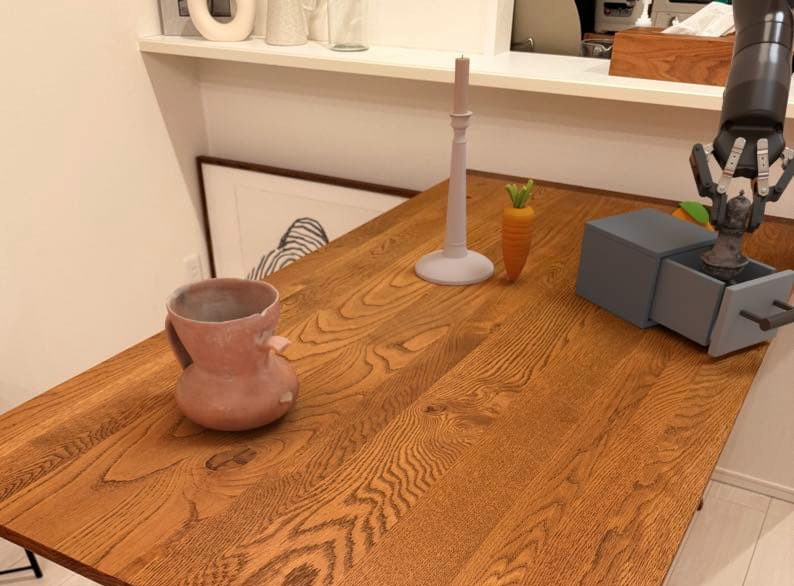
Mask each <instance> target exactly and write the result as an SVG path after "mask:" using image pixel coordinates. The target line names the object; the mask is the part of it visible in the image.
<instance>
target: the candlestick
mask: <svg viewBox="0 0 794 586" xmlns="http://www.w3.org/2000/svg"><path fill="white" fill-rule="evenodd" d="M454 59H455V61H454V84H453V85H454V86H453V89H454V90H453V110H450V111H448V112H447V114H448V115H449V117H450V119H451V122H450V127H451V128H452V129H453V139H452V140H451V143H452V144H451V157H450V167H449V168H450V169H449V170H450V171H449V180H448V181H449V182H448V193H447V194H448V195H447V205H446V206H447V207H446V219H445V220H446V221H445V230H444V240H443V242H444V243H443V249H439V250H434V251H432V252H428V253H427V254H425V255H423V256H422V257H421V258H420V259H418V260H417V261H416V262H415V265H414V272H415V275H416V276H417V277H418V278H420V279H422V280H424V281H426V282H428V283H432V284H435V285H441V286H467V285H473V284H478V283H481V282H484V281H486V280H488V279H490V278H491V277H492V276H493V275H494V272H495V271H494V270H495V266H494V264H493V262H492V261H491V260H490V259H489V258H488V257H487V256H485V255H484V254H481V253H480V252H477V251H475V250H471V249H468V247H467V139H466V133H467V128H468V127H469V126H470V121H469V119H470V117H471V116H472V115H473V114H474V112H473V111H470V110H469V109H468V106H469V84H470V62H471V61H470V60H471V58H470V57H464V54H462V55H461V57H456V58H454Z"/></svg>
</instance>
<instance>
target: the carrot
mask: <svg viewBox="0 0 794 586" xmlns="http://www.w3.org/2000/svg"><path fill="white" fill-rule="evenodd" d="M534 184H535V183H534V180H533V179H528V182H527V183H526V185H522V187H521V189H520V190H519V191H518V188H517V185H516V183H513V184H512V185H511V184H510V183H507V184H506V185H505V188H504V189H506V192H507V193H508V195H509V197H510V200H511V202H512V204H511V205H508V206H506V207H505V208H504V209H503V211H502V216H501V252H502V259H503V264H504V268H505V271H506V273H507V277H508V279H509V280H510V281H511V282H512V283H514V282H515V281H516V280H518V278H519V276H520V275H521V273H522V272H523V270H524V268H525V266H526V263H527V260H528V257H529V254H530V251H531V246H532V242H533V235H534V229H535V222H536V214H535V211H534V208H533V207H532V206H530V205H528V204H526V203H527V201H528V200H529V199H530V197H531V196H532V193H531V191H532V188H533V185H534Z"/></svg>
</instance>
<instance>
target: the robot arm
mask: <svg viewBox="0 0 794 586" xmlns="http://www.w3.org/2000/svg"><path fill="white" fill-rule="evenodd" d="M731 6H732V7H731V8H732V19H733V24H734V31H735V37H734V41H733V47H732V53H731V58H730V59H731V61H730V65H729V70H728V72H727V76H726V80H725V84H724V89H723V92H722V103H721V110H720V116H719V123H718V129H717V135H716V137H715V138H713V141H712V142H711V143H707V144H704V145H703V144H701V143H700V142H699V143H698V142H697V143H695V144H694V145H693V146H692V149H691V152H690V154H689V158H688V161H689V165H690V168H691V171H692V175H693V180H694V183H695V186H696V190H697V193H698V196H699V197H700V198H709V199H710V200H711V201H712V202H711V216H710V224H711V226H712V227H713V229H714V231H715V232H719V231H720V230H721V228H722V225H723V222H724V217H725V210H726V204H727V202H728V198H729V197H728V196H729V194H727V192H728V189H729V186H730V184H731V181H732V179H736V178H745V179H747V180H749V181H750V182H749V183H750V189H751V192H752V202H751V207H750V211H749V215H748V218H747V224H746V225H747V226H746V227H747V231H746V234H754V232H755V231H756V230H758V229H759V228H760V226H761V225H762V223H763V221H764V218H765V211H766V204H767V203H770V202H771V203H777V202H778V201H779V200H780V199H781V197H782V196H783V194H784V192H785V190H787V187H788V186H789V184H790V182H791V181H792V180H793V178H794V149H791V148H790V147H787V145H786V144H787V142H786V140H785V138H784V130H785V129H784V128H785V123H786V117H787V111H788V110H787V109H788V103H789V96H790V89H791V84H792V74H793V55H794V0H731ZM711 155H712V156H713V158H714V159H715V161H716V162H717V164H718V166H719V168H720V169H721V171H722V173H721V176H720V178H719V180H718V183H717V182H714V180H713V177H712V173H711V169H710V166H709V162H710V160H711ZM779 159H781V165H780V167H781V169H782V171H783V172H782V174H781V175H780V177H779V179H778V180H777V182H776V184H775V185H769V183H770V182H769V176H770V168H771V167H772V166H773V165H774V164H775V163H776V162H777V161H778V160H779Z"/></svg>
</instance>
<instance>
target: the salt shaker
mask: <svg viewBox="0 0 794 586" xmlns="http://www.w3.org/2000/svg"><path fill="white" fill-rule="evenodd" d="M738 194H739V195H736V196H734V197H731V198H730V199H728V200H727V204H726V210H725V217H724V222H723V225H722V228H721V230H720V231H718V232H717V233H718V237H717V241H716V244H715V246H714V248H713V249H712V250H710V251H706V252H704V253H702V254H701V259H702V270H703V272H704V273H705V275H708V276H710V277H712V278H715V279H717V280H719V281H722V282H724V283H725V286H724V290H723V293H724V292H725V289H726V287H729V286H733V285H736V284H738V283H737V282H735V281H734V280H733V279H734V278H735V277H737V276H739V274H740V273H741V272H742V271H743V269H744V266H745V265H747V264H748V262H749V259H748V258H749V257H748V256H746V255H745V254H743V253H741V251H742V250H741V249H742V246H741V245H742V243H743V239H744V235H745V233H747V226H746V225H747V223H748V219H749V212H750V207H751V204H752V202H751V200H750V199H749V198H747V197H746V196H745V195H744V194H746V192H745V190H744V189H743V188H742V189H741V190H739V191H738ZM747 257H748V258H747Z"/></svg>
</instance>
